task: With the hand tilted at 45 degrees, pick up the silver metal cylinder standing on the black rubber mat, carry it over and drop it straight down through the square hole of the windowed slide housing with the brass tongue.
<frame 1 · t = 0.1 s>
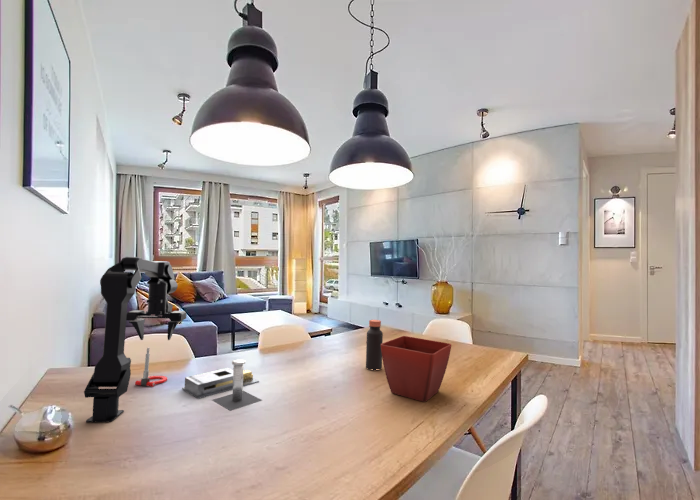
hand: (155, 339, 123), 15 cm above the table, tool pointing down, fingers open, 9 cm apart
plant pot: (415, 393, 120), on the table
windowed slide housing: (221, 386, 120), on the table
bottle: (373, 368, 146), on the table
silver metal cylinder: (237, 400, 108), resting on rubber mat
tow hook: (152, 382, 123), on the table
rubber mat: (237, 401, 108), on the table
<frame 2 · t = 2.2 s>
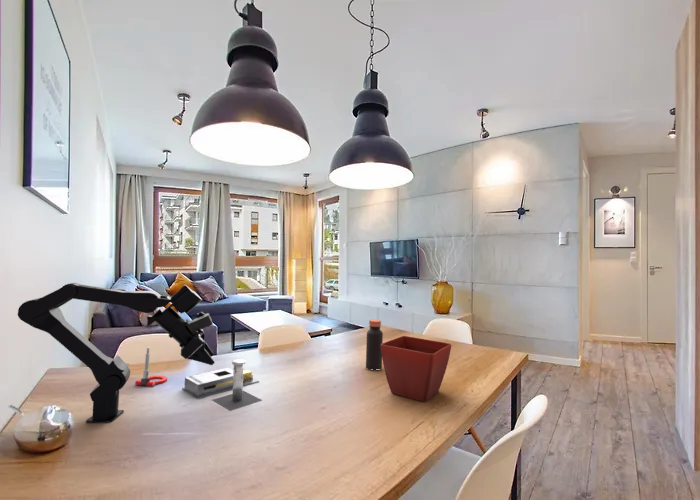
hand: (212, 359, 106), 13 cm above the table, tool tilted 45°, fingers open, 9 cm apart
nothing on the table moved.
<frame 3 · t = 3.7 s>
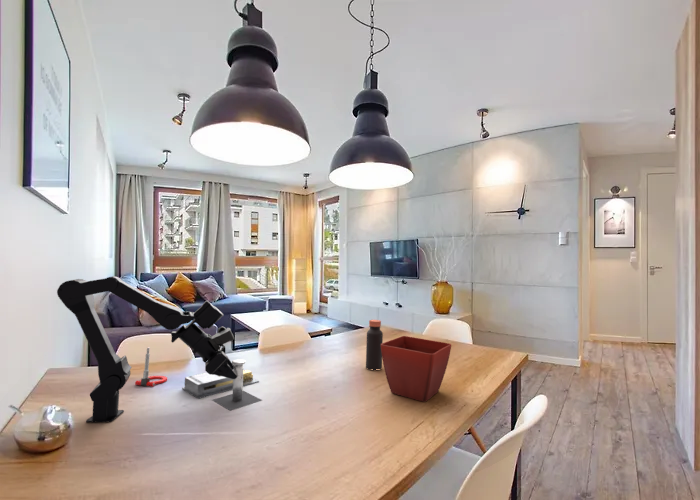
hand: (234, 373, 108), 9 cm above the table, tool tilted 45°, fingers open, 9 cm apart
nothing on the table moved.
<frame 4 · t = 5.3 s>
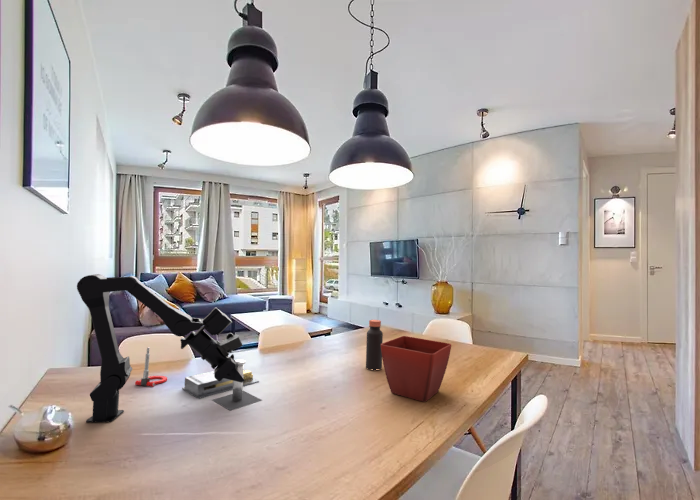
hand: (242, 379, 109), 7 cm above the table, tool tilted 45°, fingers closed on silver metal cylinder, 3 cm apart
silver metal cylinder: (237, 399, 108), resting on rubber mat, touching gripper
everything else where it was.
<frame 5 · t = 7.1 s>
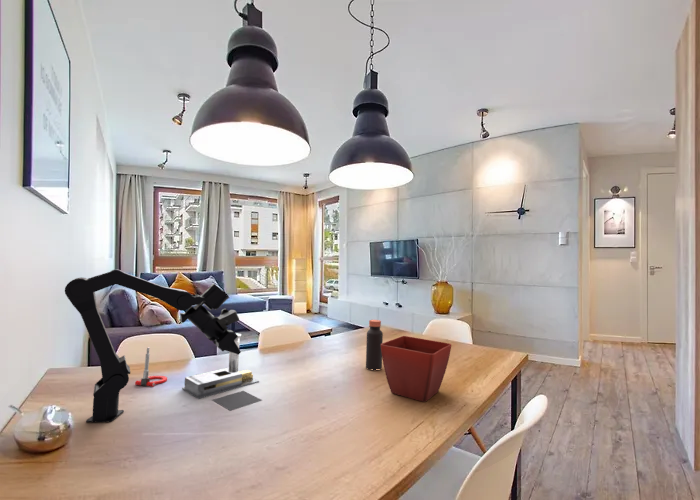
hand: (238, 351, 115), 13 cm above the table, tool tilted 45°, fingers closed on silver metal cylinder, 3 cm apart
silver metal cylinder: (233, 371, 114), point 7 cm above the table, touching gripper
everything else where it was.
when the fingers open (8 cm above the table, at t = 9.2 s): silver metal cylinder drops 1 cm, resting on windowed slide housing.
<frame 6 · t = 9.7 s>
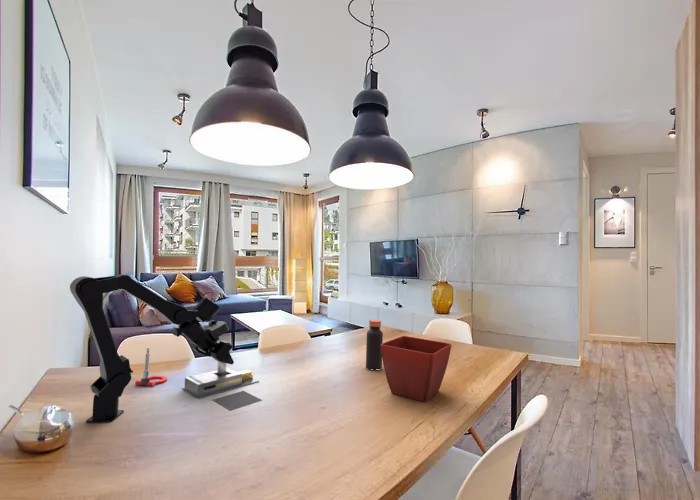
hand: (226, 360, 122), 9 cm above the table, tool tilted 45°, fingers open, 8 cm apart
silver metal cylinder: (221, 383, 120), point 1 cm above the table, touching windowed slide housing
everything else where it was.
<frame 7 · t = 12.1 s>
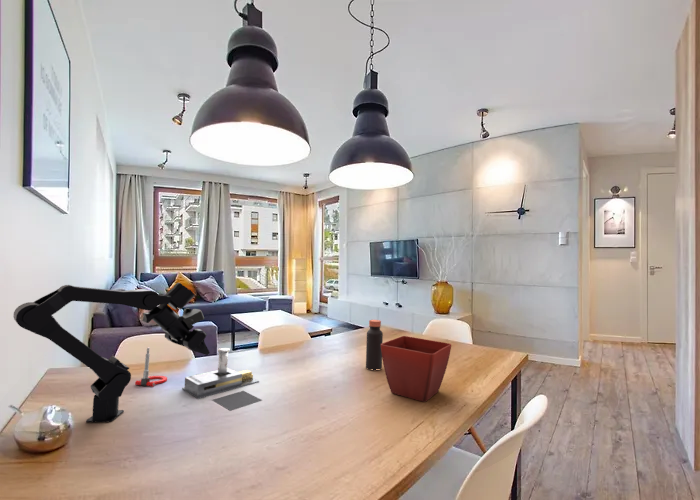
hand: (201, 351, 115), 14 cm above the table, tool tilted 45°, fingers open, 9 cm apart
nothing on the table moved.
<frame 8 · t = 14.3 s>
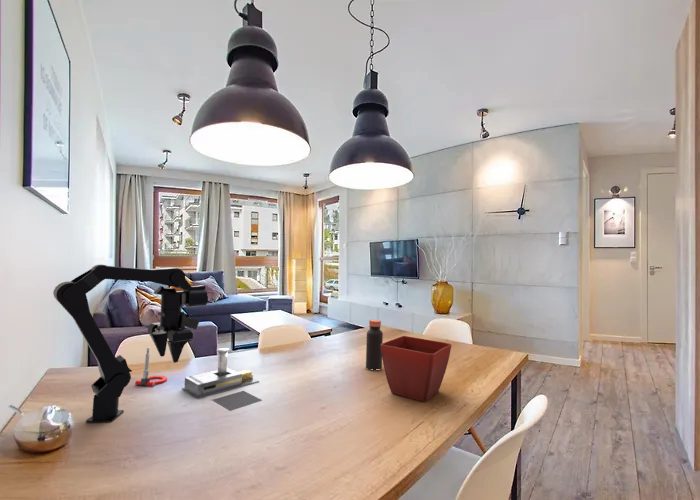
hand: (168, 359, 106), 13 cm above the table, tool pointing down, fingers open, 9 cm apart
nothing on the table moved.
at the end: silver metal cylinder 0.0 cm off-centre on the windowed slide housing, point 0.8 cm above the windowed slide housing's base; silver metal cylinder tilted 1°; the gripper is holding nothing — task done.
